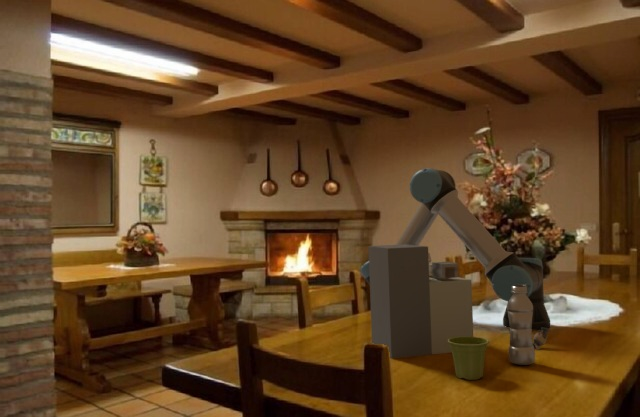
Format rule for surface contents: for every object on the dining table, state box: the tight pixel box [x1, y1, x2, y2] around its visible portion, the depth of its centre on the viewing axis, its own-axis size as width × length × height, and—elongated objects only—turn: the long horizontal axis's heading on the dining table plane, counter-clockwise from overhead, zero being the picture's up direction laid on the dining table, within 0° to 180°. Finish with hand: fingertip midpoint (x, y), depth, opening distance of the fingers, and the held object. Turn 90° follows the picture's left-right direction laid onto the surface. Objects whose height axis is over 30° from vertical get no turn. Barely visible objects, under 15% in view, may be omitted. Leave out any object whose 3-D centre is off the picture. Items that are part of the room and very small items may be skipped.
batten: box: [429, 261, 459, 278], centre depth 168 cm, size 28×5×4 cm, turn 14°
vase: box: [533, 327, 550, 351], centre depth 156 cm, size 5×5×6 cm
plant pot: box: [448, 336, 489, 381], centre depth 130 cm, size 9×9×9 cm
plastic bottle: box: [506, 285, 536, 366], centre depth 140 cm, size 6×7×20 cm
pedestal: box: [368, 244, 474, 359], centre depth 160 cm, size 16×25×30 cm, turn 104°
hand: (423, 257), depth 171 cm, fingers open, 3 cm apart
